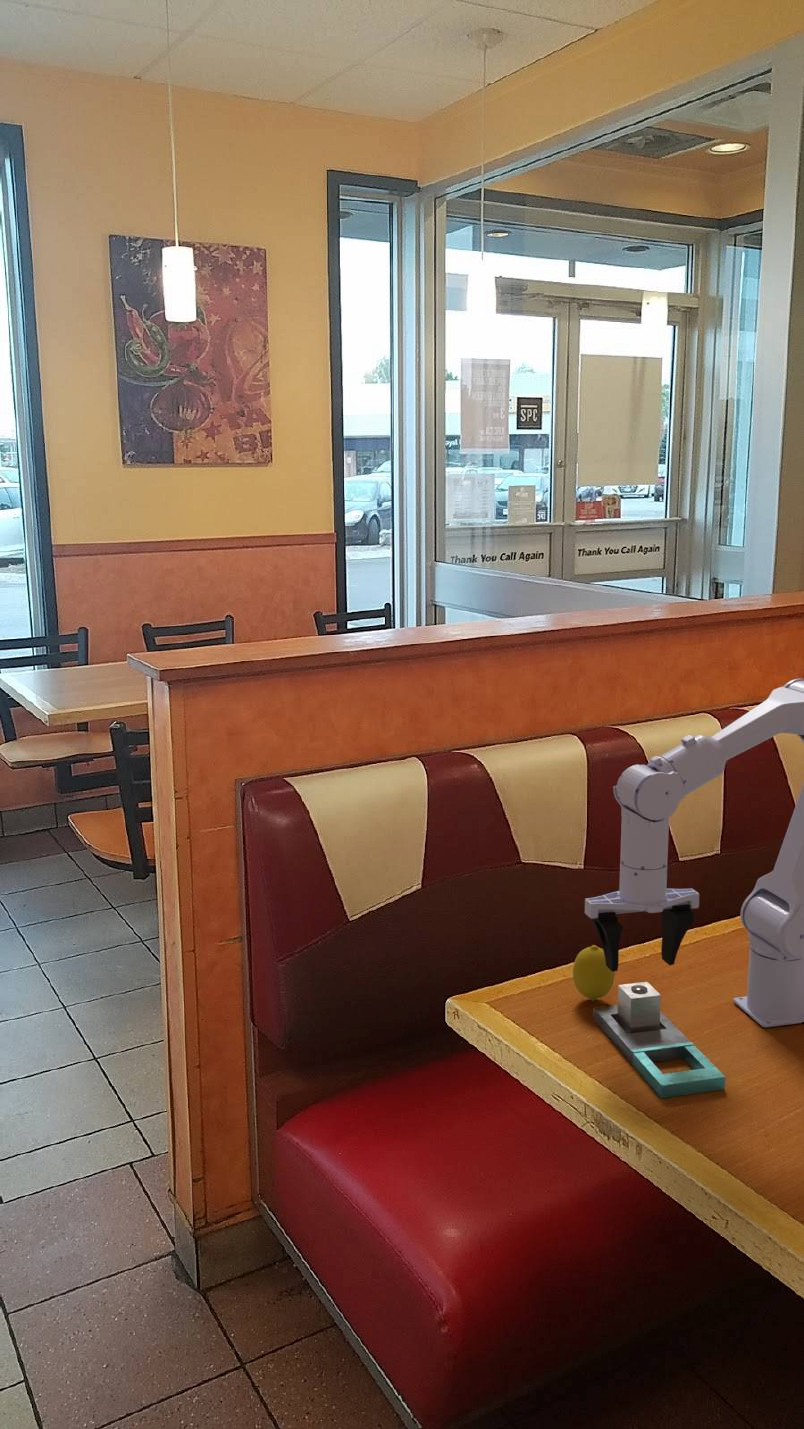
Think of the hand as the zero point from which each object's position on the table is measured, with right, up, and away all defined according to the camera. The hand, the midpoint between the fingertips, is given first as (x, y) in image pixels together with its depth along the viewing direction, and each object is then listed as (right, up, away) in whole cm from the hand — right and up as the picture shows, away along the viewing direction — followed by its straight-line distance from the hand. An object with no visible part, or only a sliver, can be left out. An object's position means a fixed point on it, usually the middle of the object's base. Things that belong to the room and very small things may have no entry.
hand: (639, 965), depth 142 cm
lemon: (-4, -8, +11) cm, 14 cm away
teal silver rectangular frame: (+1, -10, -3) cm, 11 cm away
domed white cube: (0, -9, +2) cm, 9 cm away
